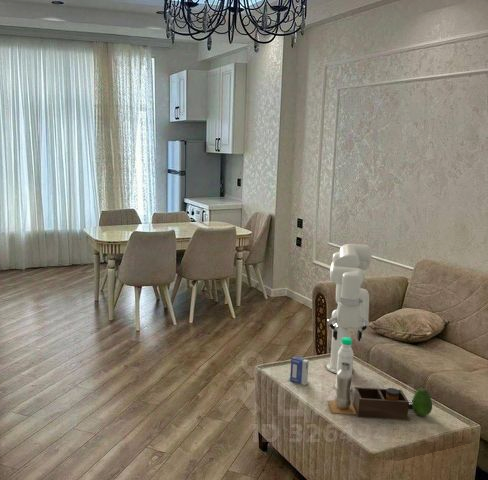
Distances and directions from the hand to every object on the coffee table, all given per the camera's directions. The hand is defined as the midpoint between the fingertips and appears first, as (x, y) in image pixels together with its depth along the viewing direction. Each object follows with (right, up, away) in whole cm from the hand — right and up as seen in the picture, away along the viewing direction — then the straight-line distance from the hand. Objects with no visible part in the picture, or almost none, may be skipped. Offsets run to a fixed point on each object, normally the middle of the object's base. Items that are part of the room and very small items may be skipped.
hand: (346, 339), depth 230 cm
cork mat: (-1, -31, +4) cm, 31 cm away
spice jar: (+19, -31, +1) cm, 37 cm away
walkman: (-15, -26, +28) cm, 41 cm away
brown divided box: (+14, -31, +1) cm, 34 cm away
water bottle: (+4, -27, +21) cm, 35 cm away
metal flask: (-1, -30, +4) cm, 31 cm away
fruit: (+31, -32, -1) cm, 45 cm away
